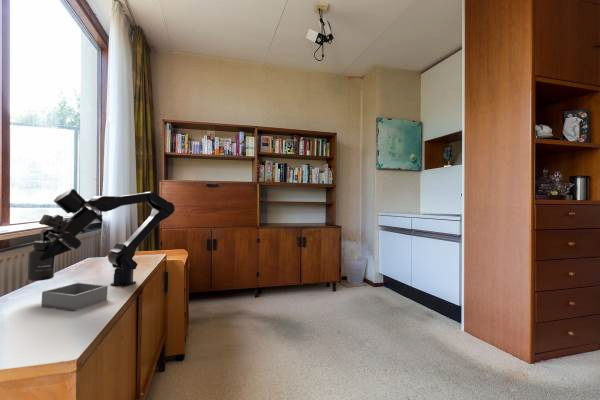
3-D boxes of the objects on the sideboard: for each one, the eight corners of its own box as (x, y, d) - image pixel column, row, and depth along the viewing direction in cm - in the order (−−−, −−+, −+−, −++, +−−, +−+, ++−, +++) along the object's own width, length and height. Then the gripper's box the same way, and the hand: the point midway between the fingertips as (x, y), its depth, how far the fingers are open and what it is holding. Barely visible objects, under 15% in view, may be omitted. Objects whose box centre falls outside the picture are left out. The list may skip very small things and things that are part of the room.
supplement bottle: (41, 281, 92) (43, 243, 93) (20, 280, 93) (22, 242, 93) (59, 276, 99) (61, 240, 100) (39, 275, 99) (41, 239, 100)
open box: (77, 295, 101) (77, 282, 101) (106, 299, 99) (107, 285, 99) (41, 306, 90) (42, 291, 90) (73, 311, 87) (74, 295, 87)
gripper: (48, 205, 105) (3, 239, 95) (71, 207, 95) (23, 245, 85) (74, 226, 111) (34, 260, 102) (97, 230, 101) (56, 268, 92)
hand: (36, 258), depth 95 cm, fingers closed on supplement bottle, 7 cm apart
